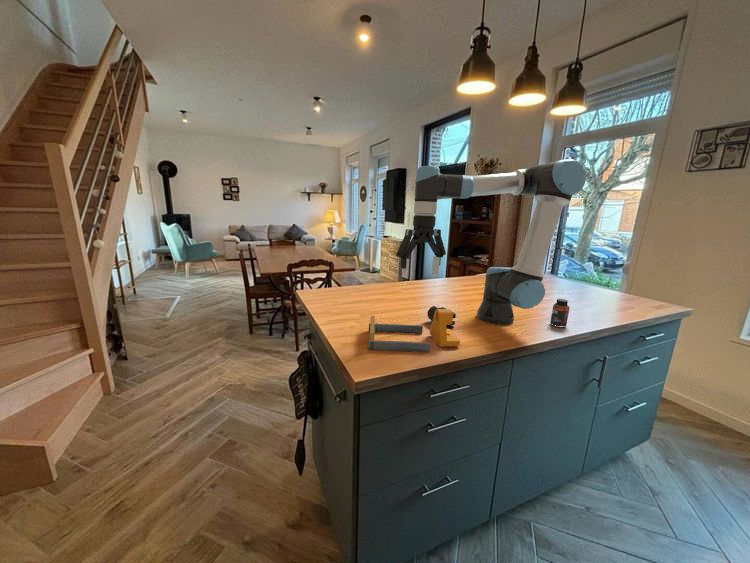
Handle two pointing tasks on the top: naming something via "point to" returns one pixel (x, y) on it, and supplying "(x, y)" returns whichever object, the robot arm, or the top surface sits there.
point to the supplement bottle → (560, 313)
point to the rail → (396, 344)
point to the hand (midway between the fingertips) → (420, 276)
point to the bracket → (443, 328)
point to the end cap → (431, 315)
